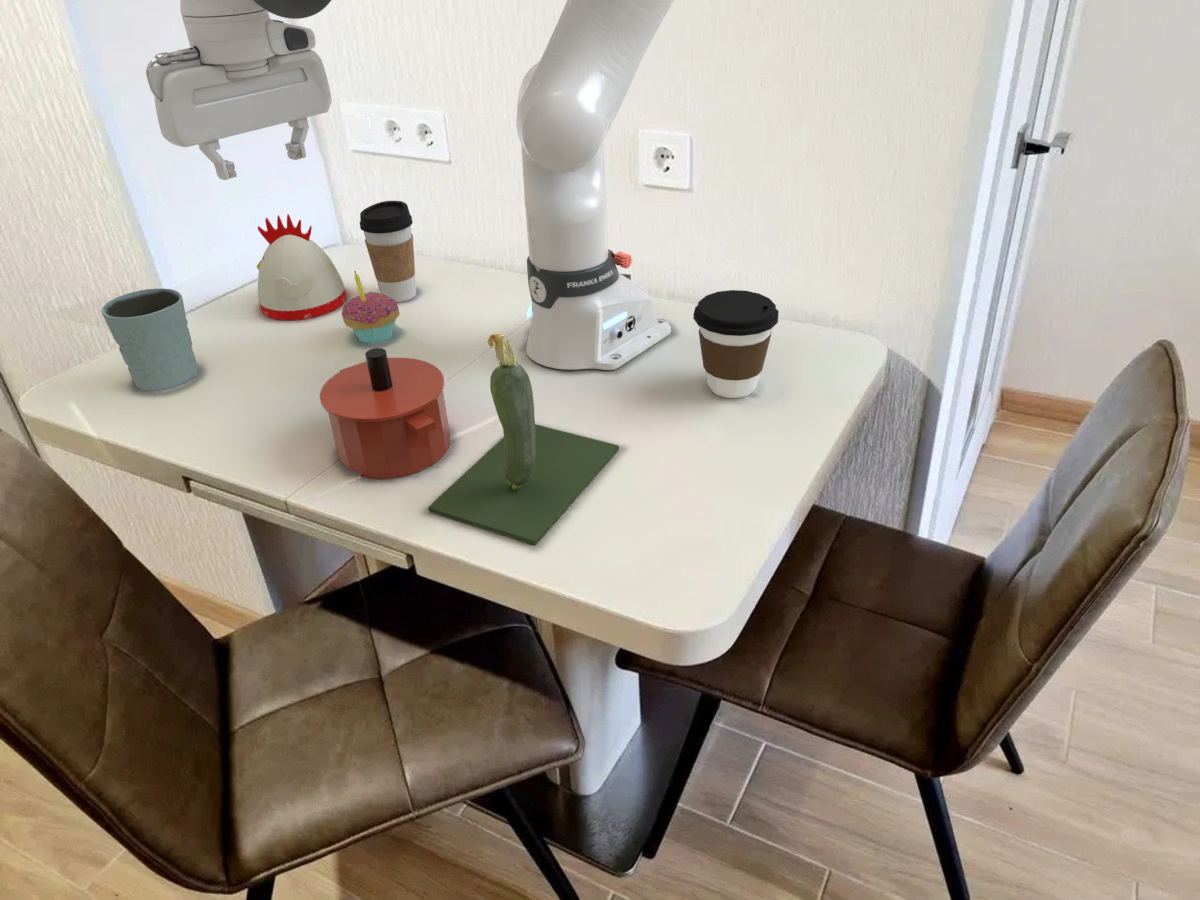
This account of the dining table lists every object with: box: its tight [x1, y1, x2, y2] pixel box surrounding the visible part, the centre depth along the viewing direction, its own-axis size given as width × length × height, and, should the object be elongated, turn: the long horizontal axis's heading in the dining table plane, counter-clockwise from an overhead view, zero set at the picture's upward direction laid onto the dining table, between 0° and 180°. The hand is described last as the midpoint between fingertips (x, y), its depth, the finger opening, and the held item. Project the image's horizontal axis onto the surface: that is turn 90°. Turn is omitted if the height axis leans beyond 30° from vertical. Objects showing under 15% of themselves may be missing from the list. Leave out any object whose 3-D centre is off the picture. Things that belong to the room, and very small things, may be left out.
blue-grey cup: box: [100, 288, 199, 392], centre depth 123 cm, size 10×10×12 cm
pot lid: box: [319, 347, 445, 422], centre depth 104 cm, size 15×15×6 cm
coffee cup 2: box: [692, 289, 780, 399], centre depth 115 cm, size 11×11×12 cm
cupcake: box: [341, 270, 400, 345], centre depth 132 cm, size 9×8×12 cm
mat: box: [427, 423, 620, 546], centre depth 103 cm, size 20×14×1 cm
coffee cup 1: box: [359, 200, 417, 303], centre depth 144 cm, size 8×8×15 cm
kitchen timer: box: [256, 213, 347, 321], centre depth 143 cm, size 14×14×15 cm
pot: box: [327, 366, 452, 480], centre depth 107 cm, size 14×19×8 cm
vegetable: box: [487, 332, 536, 490], centre depth 94 cm, size 4×4×20 cm
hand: (263, 167), depth 104 cm, fingers open, 8 cm apart
